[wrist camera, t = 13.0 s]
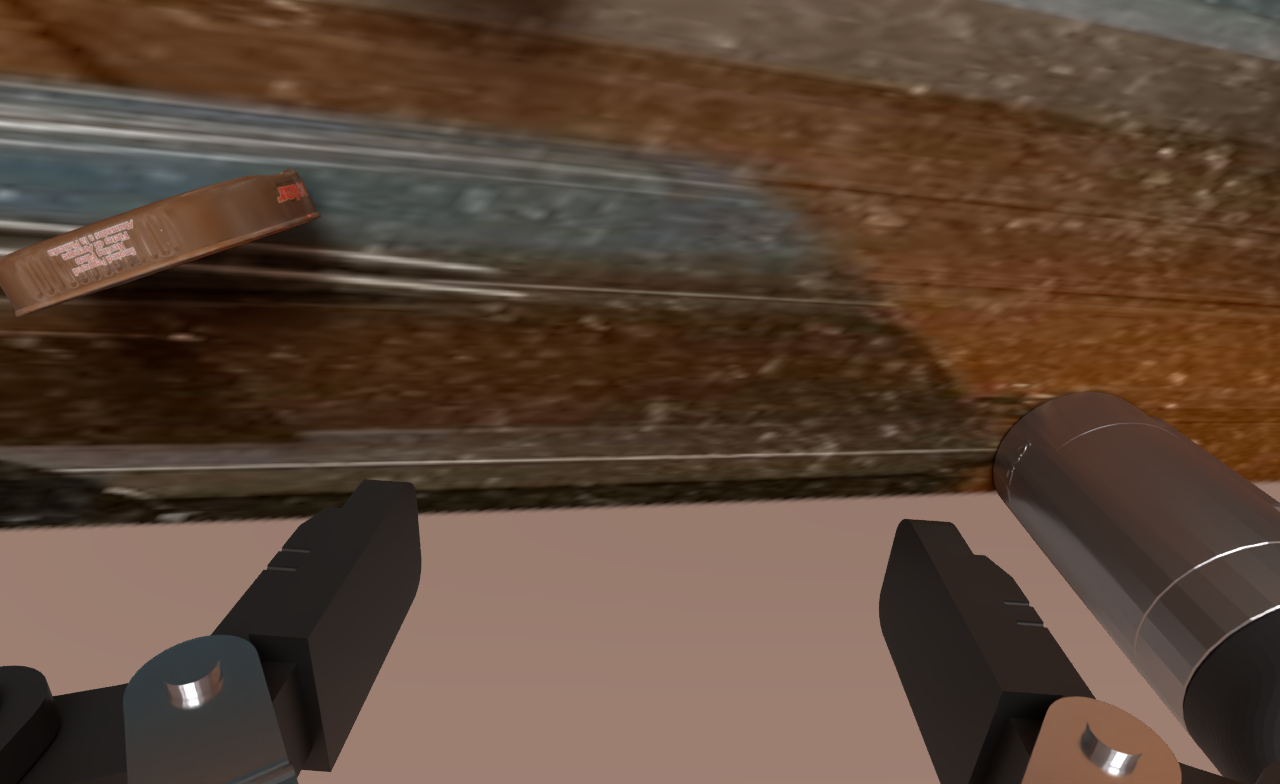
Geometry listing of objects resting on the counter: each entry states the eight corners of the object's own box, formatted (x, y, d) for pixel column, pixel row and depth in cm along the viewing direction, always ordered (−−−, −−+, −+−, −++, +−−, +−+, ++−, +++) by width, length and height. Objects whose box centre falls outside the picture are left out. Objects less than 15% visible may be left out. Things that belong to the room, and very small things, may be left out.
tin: (107, 288, 40) (-22, 344, 32) (72, 235, 38) (-71, 279, 31) (349, 208, 37) (273, 247, 30) (321, 149, 36) (234, 173, 29)
